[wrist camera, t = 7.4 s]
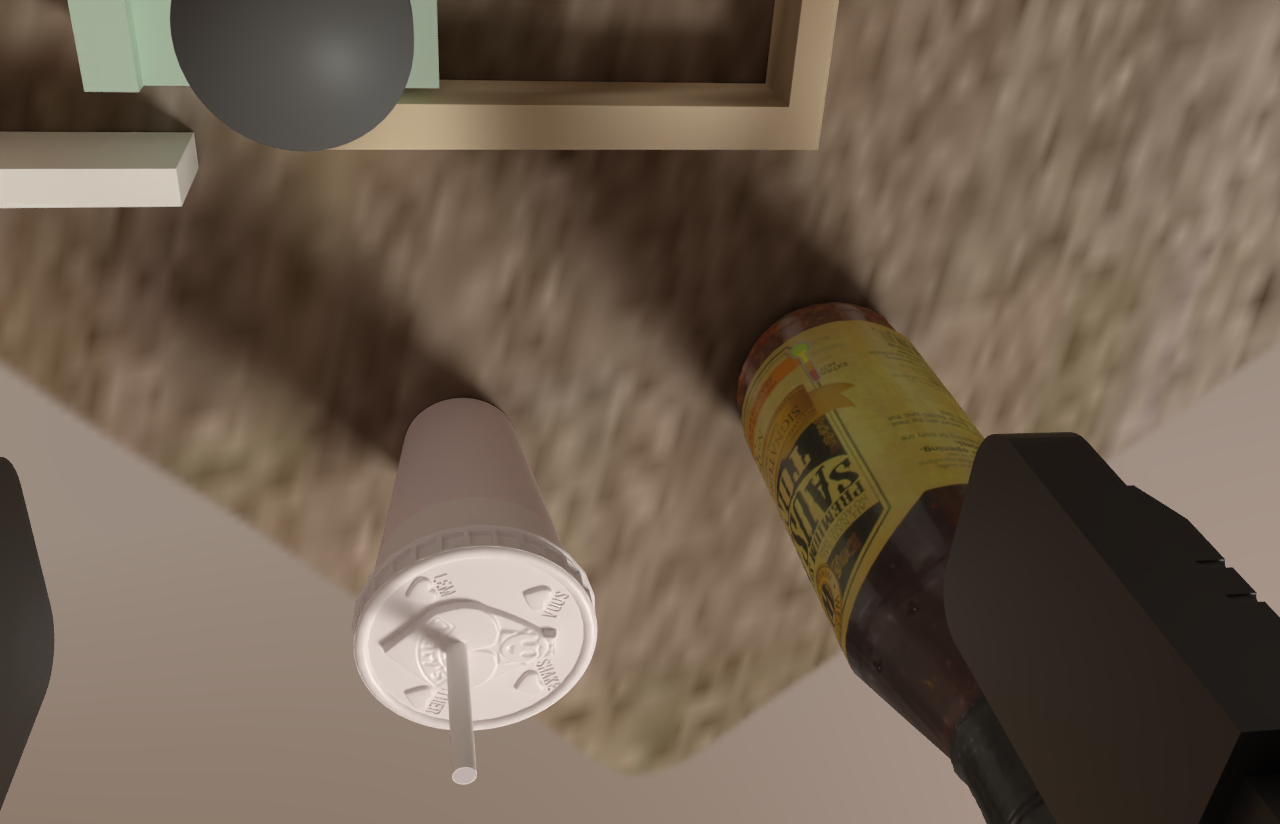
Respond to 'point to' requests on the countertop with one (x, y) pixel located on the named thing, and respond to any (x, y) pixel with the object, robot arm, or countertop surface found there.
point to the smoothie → (470, 586)
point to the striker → (266, 60)
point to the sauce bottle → (880, 522)
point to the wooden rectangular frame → (631, 105)
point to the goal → (96, 169)
